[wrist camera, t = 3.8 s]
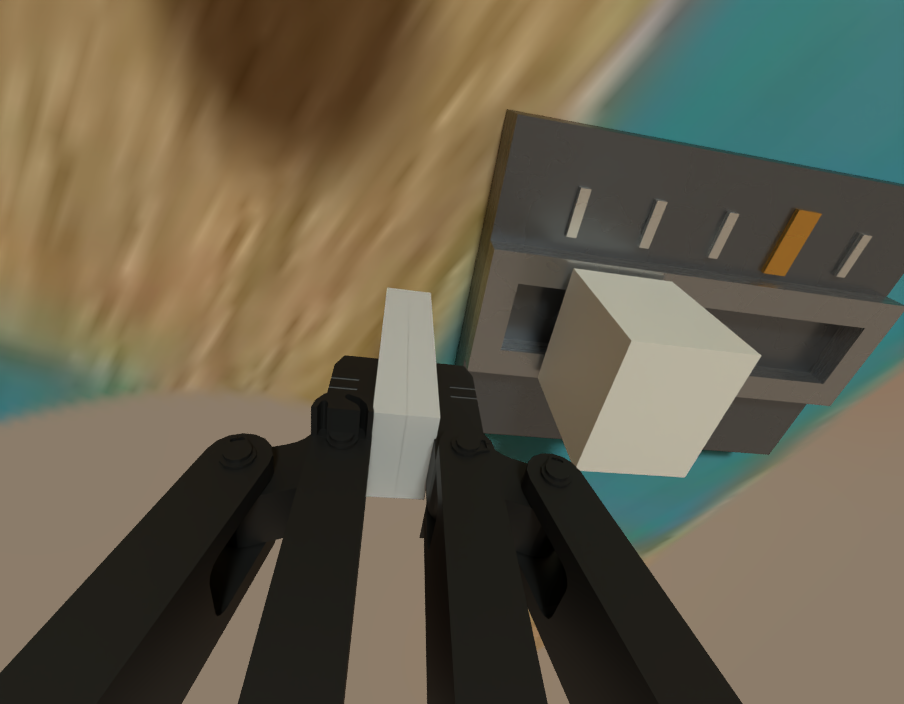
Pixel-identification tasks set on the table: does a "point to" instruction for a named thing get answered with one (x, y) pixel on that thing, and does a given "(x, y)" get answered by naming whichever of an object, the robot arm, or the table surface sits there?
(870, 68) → the table surface
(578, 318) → the fader tab
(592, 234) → the console
